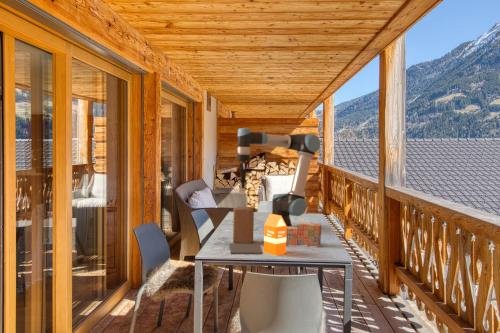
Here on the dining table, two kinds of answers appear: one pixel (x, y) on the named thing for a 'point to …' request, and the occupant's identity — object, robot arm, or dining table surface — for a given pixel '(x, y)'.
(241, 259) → the dining table surface
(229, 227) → the dining table surface
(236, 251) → the mat
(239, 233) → the wooden block
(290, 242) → the stack of blocks
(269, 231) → the orange juice
